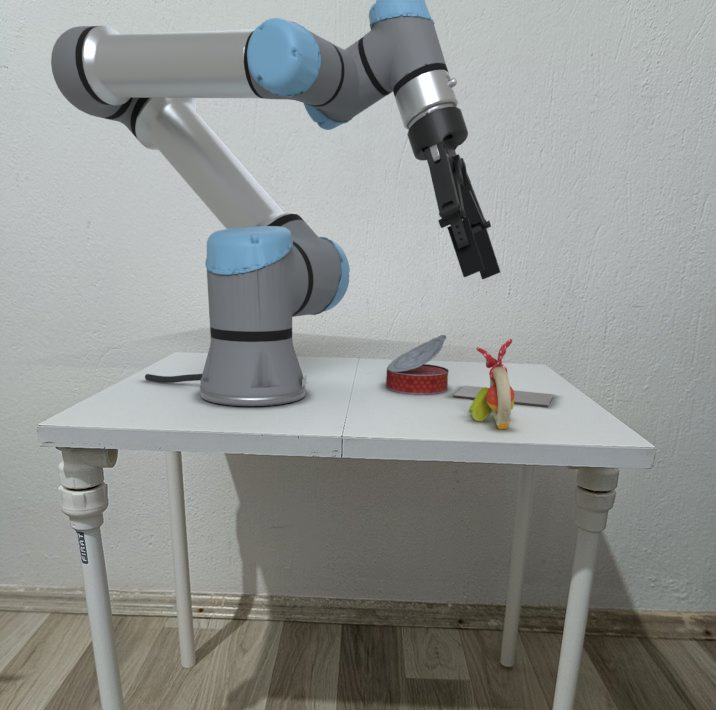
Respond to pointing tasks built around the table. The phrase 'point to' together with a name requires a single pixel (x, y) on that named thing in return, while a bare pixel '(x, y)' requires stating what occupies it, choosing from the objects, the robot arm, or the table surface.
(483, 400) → the bird rattle
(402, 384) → the canned food
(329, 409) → the table surface
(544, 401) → the flat grey rectangular slab
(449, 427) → the table surface
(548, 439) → the table surface
